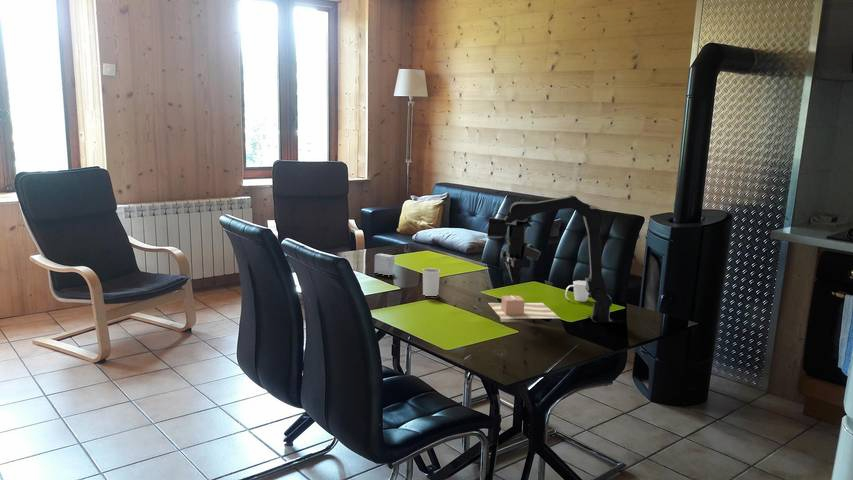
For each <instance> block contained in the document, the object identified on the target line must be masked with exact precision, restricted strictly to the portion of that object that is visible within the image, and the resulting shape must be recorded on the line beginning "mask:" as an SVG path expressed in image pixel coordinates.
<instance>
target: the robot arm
mask: <svg viewBox="0 0 853 480" xmlns="http://www.w3.org/2000/svg"><path fill="white" fill-rule="evenodd" d="M565 209H573V210H574V211H575V212H577V213H578V214H580V215H582V219H583V221H584V225H585V228H586V233H587V241H588V256H589V257H588V258H589V275H588V277H585V278H584V281H586V288H585V289H586V290H587V292H588V293H589V296H590V297H591V299H592V300H593V305H592V306H593V307H592V316H591V315H590V316H588V319H589V320H591V321H592V322H594V323H595V324H596V323H597V324H600V323H601V324H602V323H603V324H604V323H610V324H611V323H613V322H614V321H613V320H612V319H611V318H610V315H611V314H610V311H611V307H612V305H613V302H614V300H613V299H612V298H611V296H610V295H609V294H608V291H607V290H608V289H607V286H606V283H605V278H604V275H603V270H602V269H603V265H602V250H601V230H602V227H603V219H604V215H603V213H602V211H601V210H600V209H599V208H597V207H595V206H589V205H587V204H586V203H584V202H583V201H581V200H580V199H579V198H578V197H577V196H575V195H572V194H570V195H568V196H564V197H563V196H562V197H558V198H552V199H547V200H541V201H516V202H515V201H514V202H513V203H512V204H511V205H510V207H509V211H508V213H507V214H506V215H505V217H504V218H498V217H497V218H495V217H488V226H487V238H496V239H497V238H501V239H503V238H504V237H505V236H508V237H507V238H508V239H507V240H506V244H507V249H506V248H505V249H502V250H501V251H500V258H501V259H505V258H506V260H504V263H505V264H504V265H505V266H506V269H507V272H508V274H509V277H510V280H511V283H514V284H515V283H516V282H517V280H518V277H519V274H520V271H521V269H523V268H526V269H527V268H528V269H529V268H532V261H531V260H530V259H529V258H531V259H534V260H535V261H538V260H539V257H540V256H541V251H540V250H538V249H537V248H535V246H534V244H531V243H527V242H526V229H527V228H531V227H532V223H530V221H529V220H528V218H531V217H532V216H535V215H537V214H542V213H543V214H544V213H548V212H555V211H559V210H565ZM507 234H508V235H507Z"/></svg>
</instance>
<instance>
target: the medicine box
mask: <svg viewBox="0 0 853 480" xmlns="http://www.w3.org/2000/svg"><path fill="white" fill-rule="evenodd" d="M395 258H396V257H395V255H392V254H385V253H376V254H374V270H373V273H378V274H383V275H382V276H384V275H388V276H387V277H390V276H389V275H392V276H394V275H395ZM378 274H377V275H378ZM393 274H394V275H393Z"/></svg>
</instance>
